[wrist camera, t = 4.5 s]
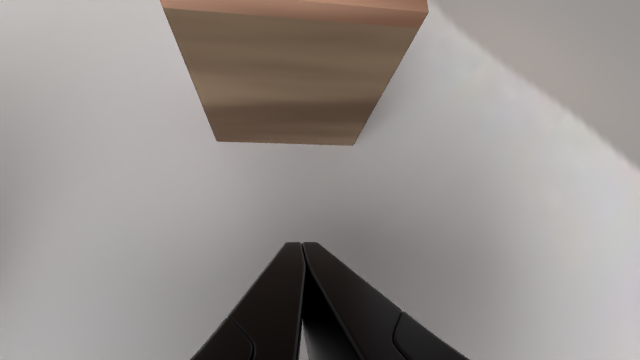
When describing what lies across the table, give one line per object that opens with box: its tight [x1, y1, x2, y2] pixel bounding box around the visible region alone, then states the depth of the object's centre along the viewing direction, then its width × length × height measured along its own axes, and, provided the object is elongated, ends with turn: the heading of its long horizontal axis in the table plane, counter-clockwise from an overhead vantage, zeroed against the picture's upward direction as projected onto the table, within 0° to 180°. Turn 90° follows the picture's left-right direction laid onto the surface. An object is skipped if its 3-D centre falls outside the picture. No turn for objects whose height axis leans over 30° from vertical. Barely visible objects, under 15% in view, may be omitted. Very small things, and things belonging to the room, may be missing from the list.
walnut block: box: [160, 0, 429, 145], centre depth 13 cm, size 4×7×9 cm, turn 91°
